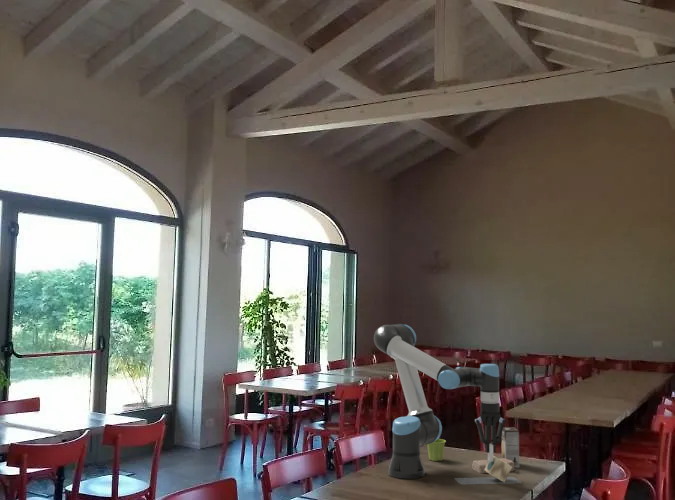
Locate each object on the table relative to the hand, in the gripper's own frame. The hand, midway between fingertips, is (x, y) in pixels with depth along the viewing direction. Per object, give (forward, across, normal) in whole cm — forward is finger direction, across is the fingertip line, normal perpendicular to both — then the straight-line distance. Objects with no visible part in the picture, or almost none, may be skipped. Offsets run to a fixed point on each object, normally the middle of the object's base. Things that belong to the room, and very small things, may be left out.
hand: (490, 460), depth 285 cm
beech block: (+2, 0, 0) cm, 2 cm away
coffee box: (+9, +18, +27) cm, 34 cm away
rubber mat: (+8, -1, 0) cm, 9 cm away
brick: (+9, +7, +17) cm, 21 cm away
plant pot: (+9, -13, +40) cm, 43 cm away
